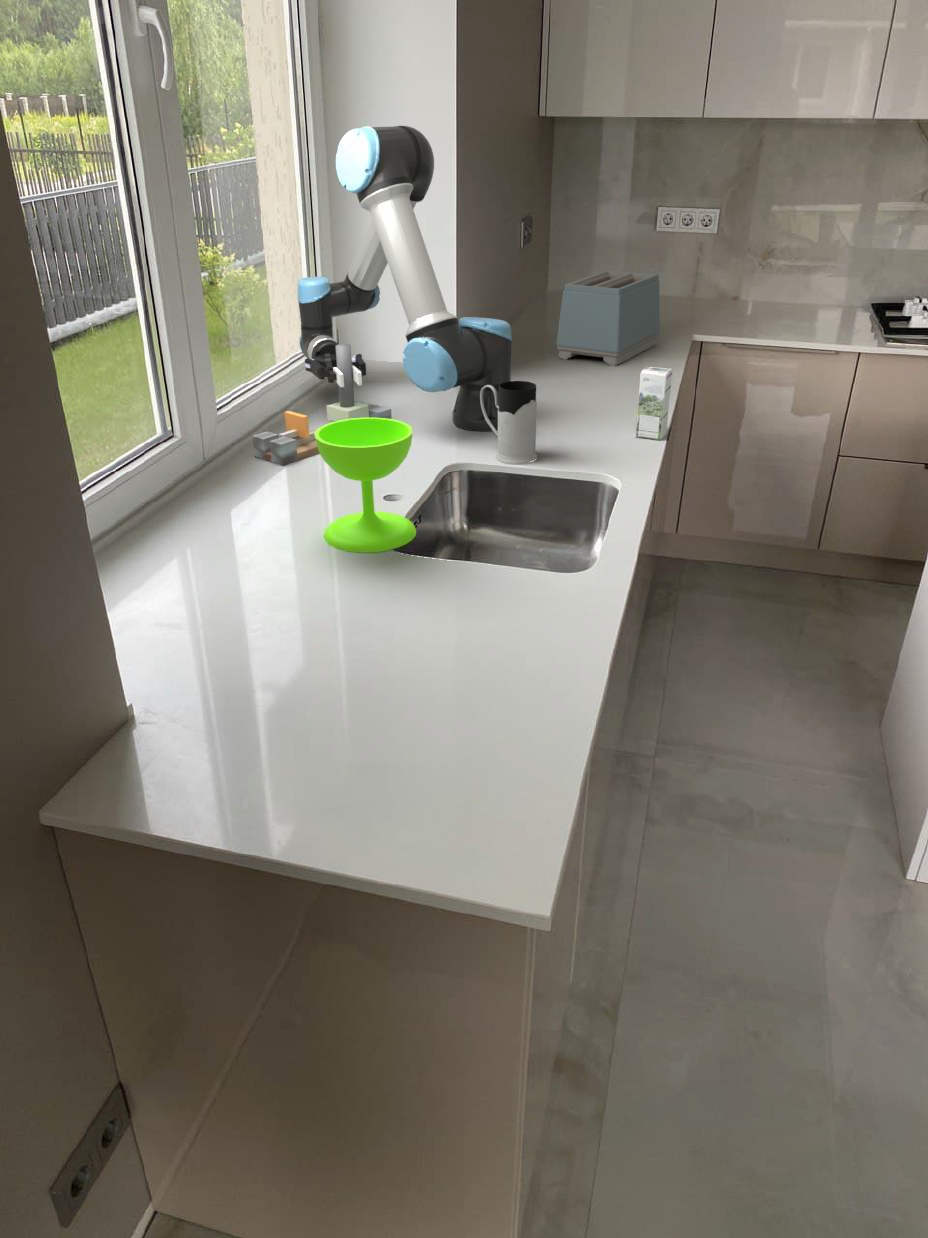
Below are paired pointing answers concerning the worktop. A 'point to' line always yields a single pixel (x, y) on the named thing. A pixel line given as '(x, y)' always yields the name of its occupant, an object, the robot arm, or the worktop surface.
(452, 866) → the worktop surface
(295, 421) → the orange block
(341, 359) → the carriage
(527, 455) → the glass holder
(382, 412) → the rail base
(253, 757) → the worktop surface
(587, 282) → the toaster
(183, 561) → the worktop surface
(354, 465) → the wineglass
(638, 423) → the syrup box
